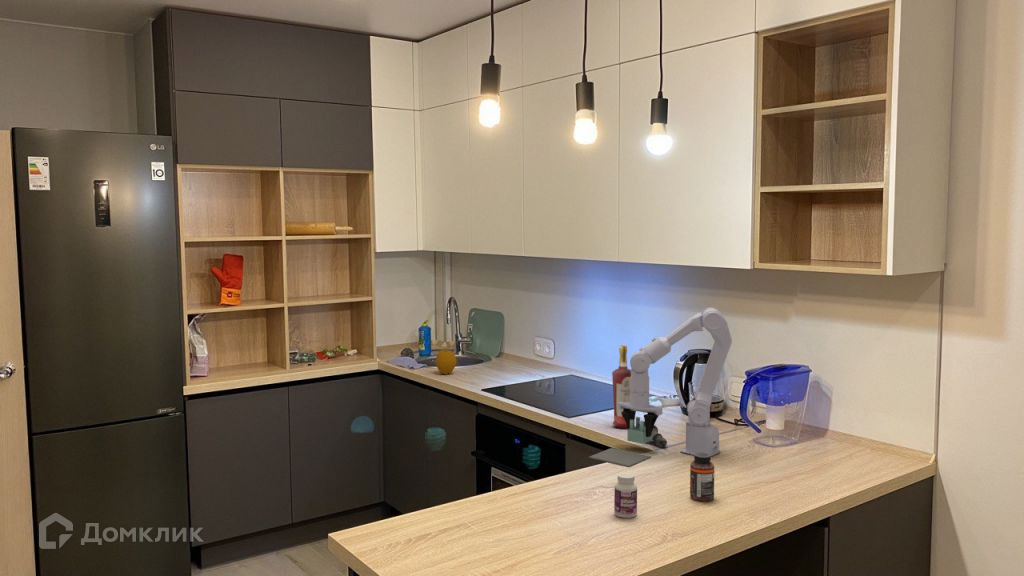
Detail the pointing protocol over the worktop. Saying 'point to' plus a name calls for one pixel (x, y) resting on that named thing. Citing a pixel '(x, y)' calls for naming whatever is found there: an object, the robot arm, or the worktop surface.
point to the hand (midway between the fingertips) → (640, 434)
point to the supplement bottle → (702, 477)
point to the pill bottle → (625, 496)
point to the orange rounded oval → (445, 361)
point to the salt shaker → (657, 437)
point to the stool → (637, 432)
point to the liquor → (621, 387)
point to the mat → (620, 457)
